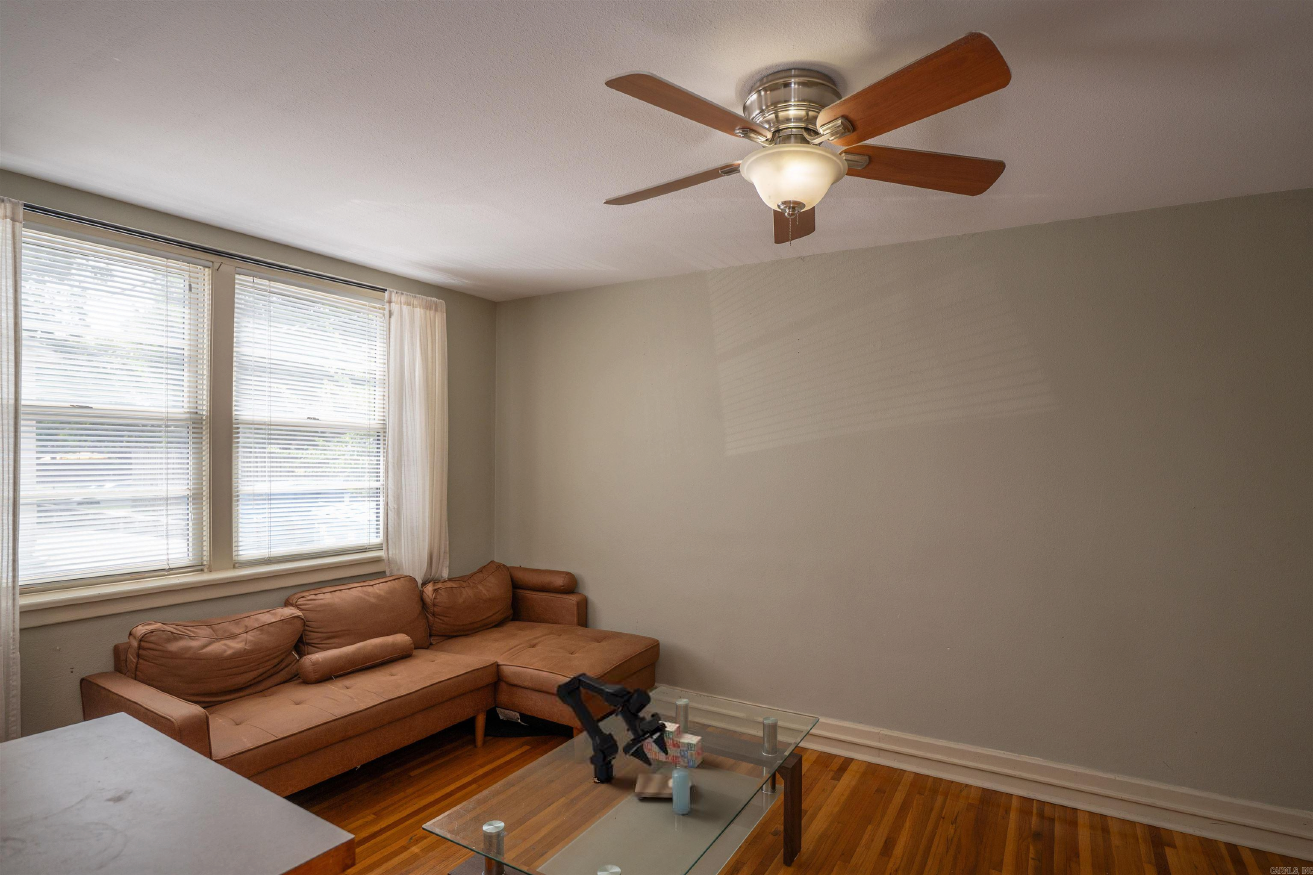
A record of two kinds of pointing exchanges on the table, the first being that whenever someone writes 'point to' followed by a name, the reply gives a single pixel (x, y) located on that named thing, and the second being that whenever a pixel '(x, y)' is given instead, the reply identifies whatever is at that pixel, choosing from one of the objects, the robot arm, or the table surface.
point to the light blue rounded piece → (681, 791)
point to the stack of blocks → (677, 747)
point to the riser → (654, 786)
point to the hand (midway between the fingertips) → (659, 760)
